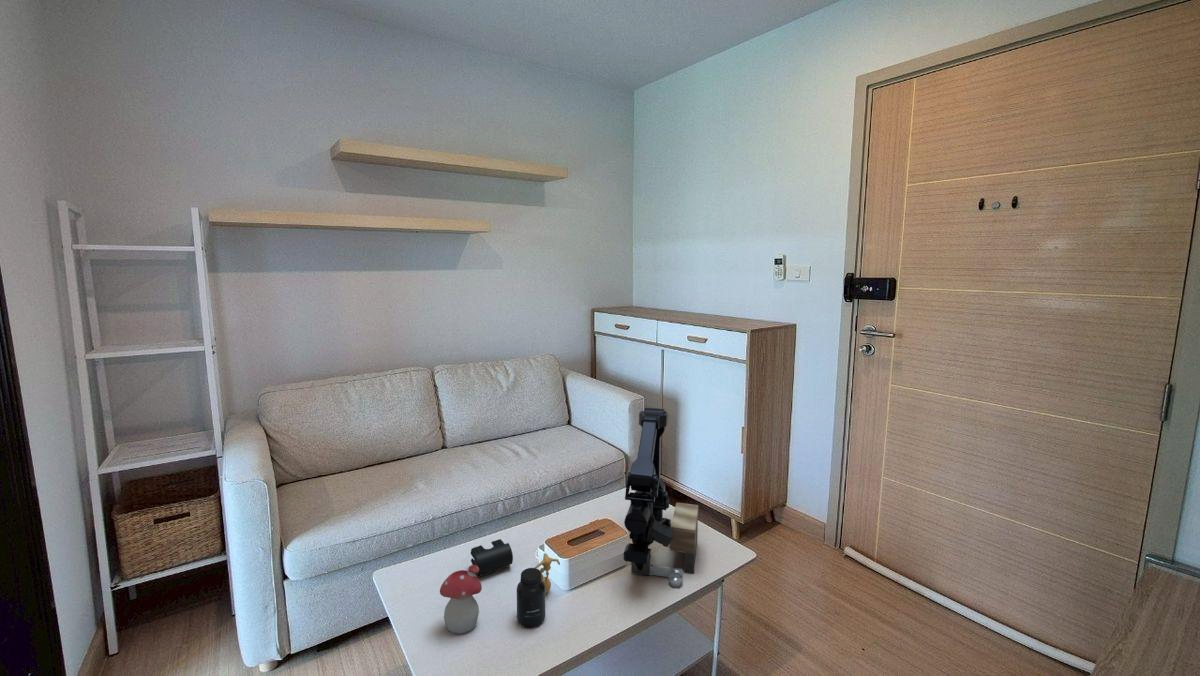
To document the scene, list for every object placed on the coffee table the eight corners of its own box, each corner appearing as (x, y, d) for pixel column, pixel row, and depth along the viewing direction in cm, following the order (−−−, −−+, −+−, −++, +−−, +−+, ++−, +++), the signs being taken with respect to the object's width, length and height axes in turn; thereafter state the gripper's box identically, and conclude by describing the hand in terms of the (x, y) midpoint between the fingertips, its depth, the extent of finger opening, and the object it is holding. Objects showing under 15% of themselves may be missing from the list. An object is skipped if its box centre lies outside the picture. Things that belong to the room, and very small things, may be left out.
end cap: (478, 583, 134) (477, 560, 133) (470, 569, 140) (469, 547, 138) (513, 570, 139) (512, 548, 138) (503, 557, 145) (503, 536, 144)
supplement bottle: (531, 633, 116) (530, 586, 114) (511, 620, 120) (509, 575, 118) (551, 616, 121) (550, 571, 119) (531, 604, 125) (530, 561, 123)
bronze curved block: (674, 542, 152) (675, 502, 150) (697, 545, 150) (698, 505, 148) (668, 570, 139) (669, 526, 137) (693, 573, 137) (695, 530, 135)
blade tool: (632, 568, 139) (632, 551, 138) (682, 575, 136) (683, 558, 135) (631, 572, 137) (631, 556, 136) (681, 580, 134) (682, 563, 133)
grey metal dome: (669, 578, 135) (669, 571, 135) (682, 580, 134) (682, 573, 134) (667, 587, 132) (668, 580, 131) (681, 589, 131) (681, 582, 131)
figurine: (554, 582, 134) (554, 541, 132) (564, 595, 128) (563, 553, 126) (525, 592, 130) (524, 550, 128) (534, 606, 124) (533, 563, 122)
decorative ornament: (486, 616, 121) (483, 560, 119) (477, 637, 115) (475, 577, 112) (448, 615, 122) (445, 558, 119) (438, 635, 115) (434, 576, 113)
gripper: (667, 536, 123) (666, 594, 126) (675, 501, 141) (674, 552, 144) (623, 530, 126) (622, 586, 129) (636, 496, 144) (636, 546, 147)
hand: (641, 567), depth 137 cm, fingers closed on blade tool, 2 cm apart
